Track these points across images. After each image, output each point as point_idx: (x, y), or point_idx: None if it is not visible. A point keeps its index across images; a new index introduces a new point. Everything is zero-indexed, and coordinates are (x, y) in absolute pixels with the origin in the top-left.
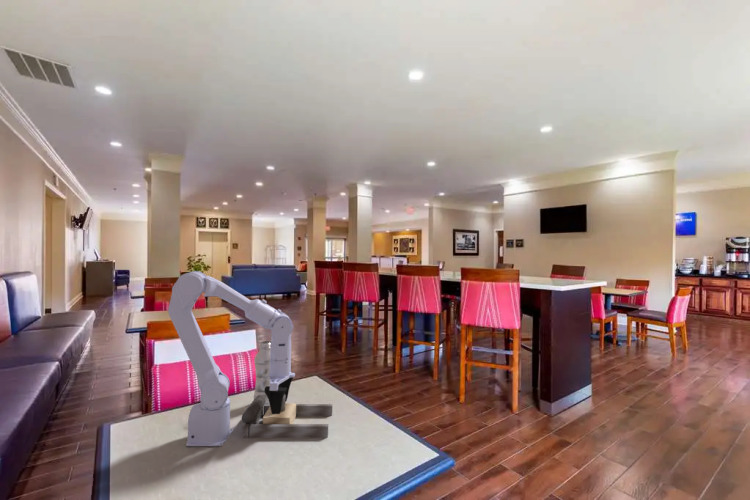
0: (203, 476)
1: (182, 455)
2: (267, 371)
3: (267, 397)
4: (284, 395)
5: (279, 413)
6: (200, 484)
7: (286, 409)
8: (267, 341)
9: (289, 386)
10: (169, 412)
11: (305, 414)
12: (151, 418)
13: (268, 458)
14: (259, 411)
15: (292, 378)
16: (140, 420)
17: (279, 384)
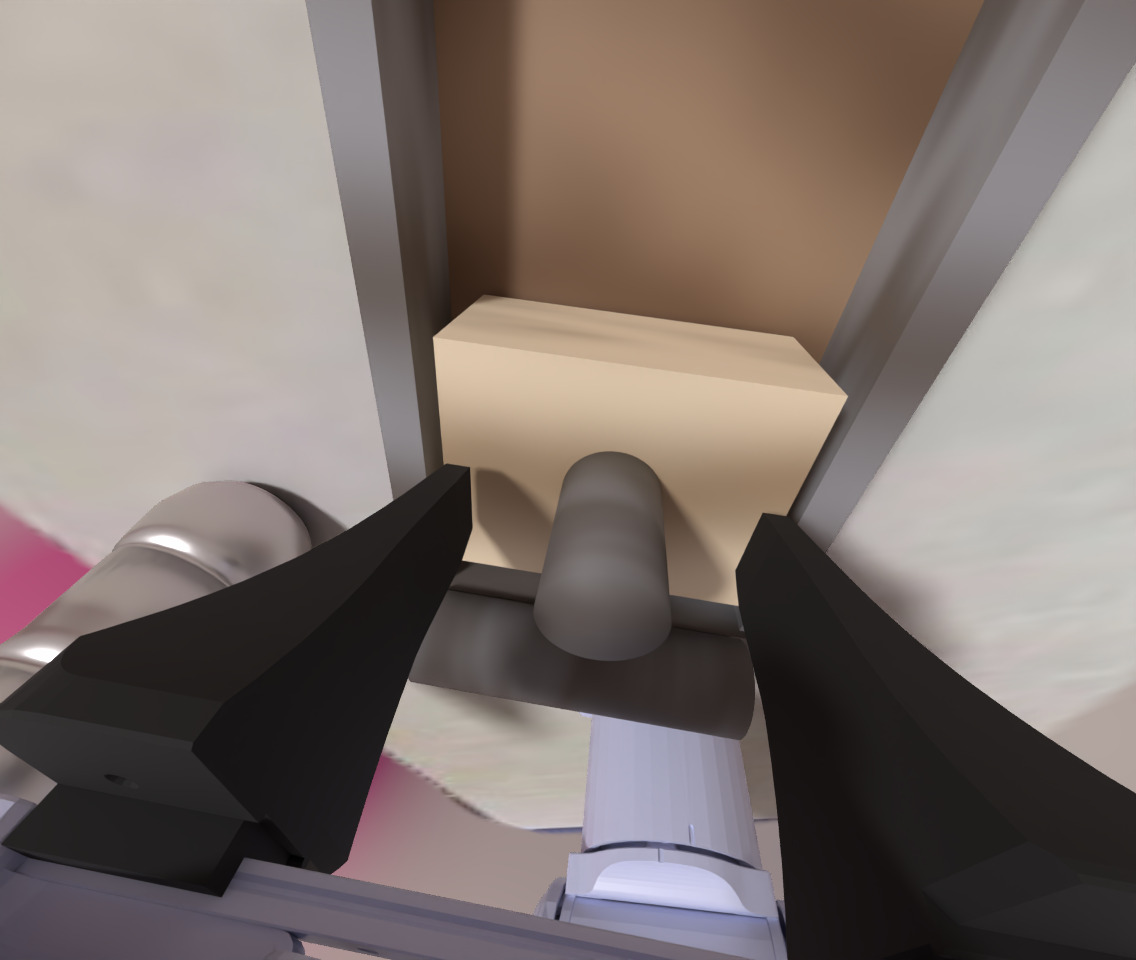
0: (993, 677)
1: (766, 729)
2: (40, 777)
3: (259, 552)
4: (603, 584)
5: (790, 520)
6: (1057, 680)
7: (601, 438)
8: None
9: (348, 570)
10: (426, 766)
11: (436, 184)
12: (472, 788)
13: (1031, 449)
14: (508, 588)
15: (234, 702)
16: (486, 801)
17: (380, 711)
